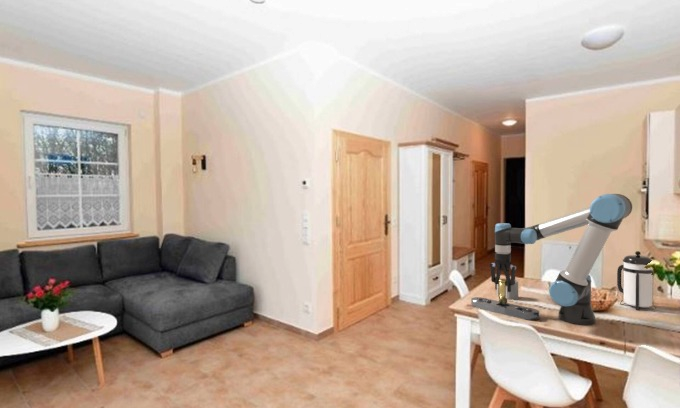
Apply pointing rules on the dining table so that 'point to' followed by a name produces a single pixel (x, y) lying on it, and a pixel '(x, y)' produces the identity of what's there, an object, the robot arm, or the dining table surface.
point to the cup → (514, 291)
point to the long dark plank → (505, 308)
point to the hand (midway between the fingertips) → (503, 296)
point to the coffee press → (636, 281)
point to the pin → (502, 291)
